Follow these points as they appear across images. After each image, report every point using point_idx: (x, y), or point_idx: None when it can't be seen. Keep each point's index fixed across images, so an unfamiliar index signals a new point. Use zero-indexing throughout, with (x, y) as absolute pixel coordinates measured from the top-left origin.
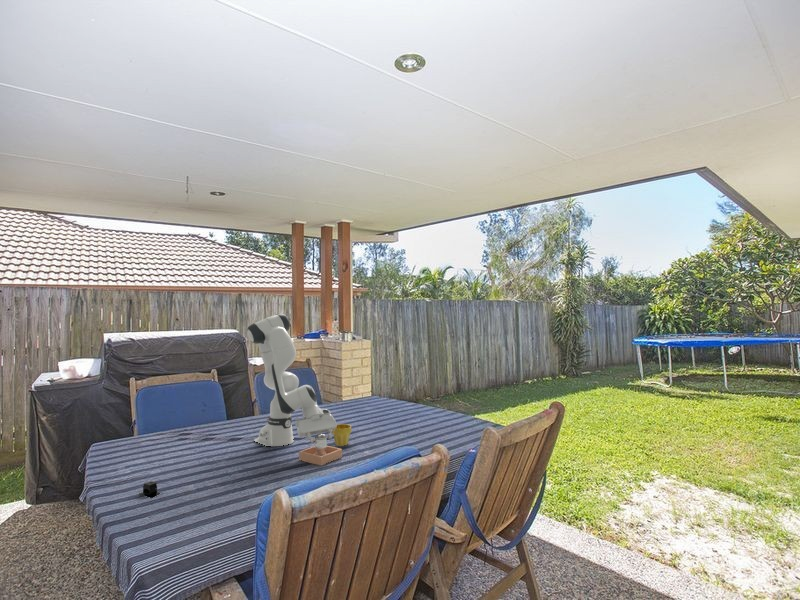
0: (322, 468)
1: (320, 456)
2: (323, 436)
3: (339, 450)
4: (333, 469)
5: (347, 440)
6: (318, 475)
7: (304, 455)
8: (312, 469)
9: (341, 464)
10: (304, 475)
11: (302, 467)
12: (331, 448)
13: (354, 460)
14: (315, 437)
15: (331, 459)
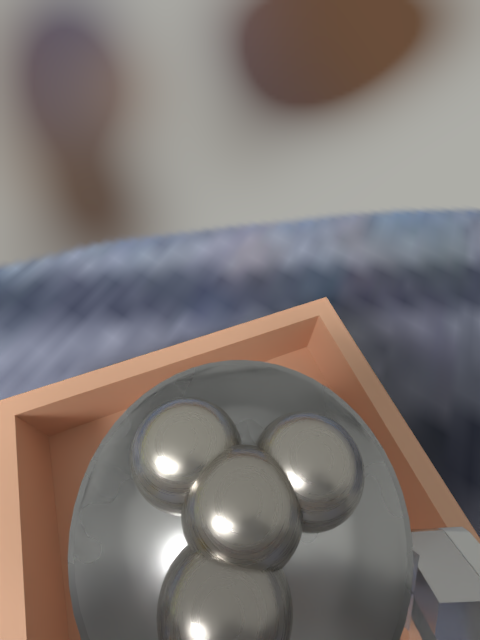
0: (321, 289)
1: (329, 312)
2: (214, 401)
3: (46, 389)
4: (263, 241)
5: None
6: (381, 214)
7: None
8: (395, 309)
9: (166, 284)
10: (465, 250)
11: (467, 389)
12: (32, 578)
13: (32, 302)
14: (399, 537)
15: None
